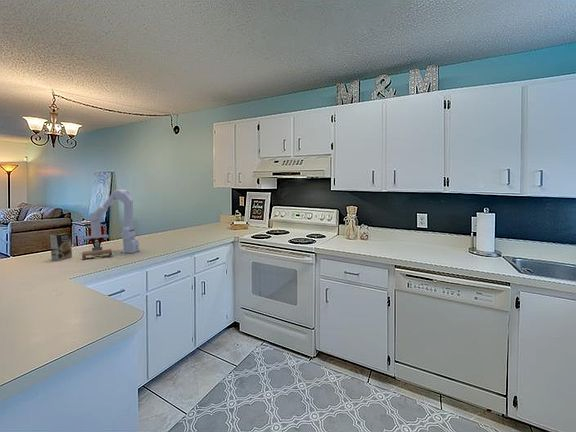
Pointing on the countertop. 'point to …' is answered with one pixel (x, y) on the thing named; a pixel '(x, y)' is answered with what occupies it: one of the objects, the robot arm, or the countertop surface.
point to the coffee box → (61, 246)
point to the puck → (97, 257)
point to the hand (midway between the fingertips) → (97, 248)
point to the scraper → (97, 248)
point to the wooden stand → (96, 253)
